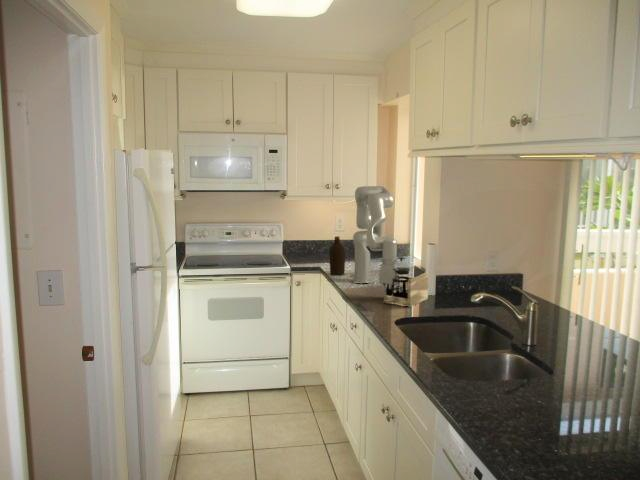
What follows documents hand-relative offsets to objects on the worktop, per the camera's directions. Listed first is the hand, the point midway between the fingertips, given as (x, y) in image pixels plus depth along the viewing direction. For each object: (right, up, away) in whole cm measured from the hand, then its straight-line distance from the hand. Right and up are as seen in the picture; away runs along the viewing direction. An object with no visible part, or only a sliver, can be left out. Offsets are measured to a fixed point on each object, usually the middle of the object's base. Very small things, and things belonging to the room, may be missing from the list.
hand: (389, 295), depth 262 cm
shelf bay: (+8, -2, -5) cm, 10 cm away
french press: (+6, -2, -4) cm, 8 cm away
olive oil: (-26, +7, +61) cm, 66 cm away
